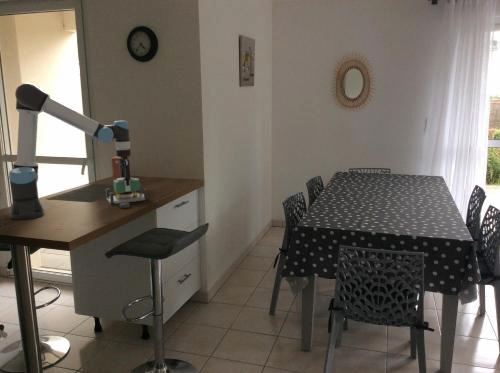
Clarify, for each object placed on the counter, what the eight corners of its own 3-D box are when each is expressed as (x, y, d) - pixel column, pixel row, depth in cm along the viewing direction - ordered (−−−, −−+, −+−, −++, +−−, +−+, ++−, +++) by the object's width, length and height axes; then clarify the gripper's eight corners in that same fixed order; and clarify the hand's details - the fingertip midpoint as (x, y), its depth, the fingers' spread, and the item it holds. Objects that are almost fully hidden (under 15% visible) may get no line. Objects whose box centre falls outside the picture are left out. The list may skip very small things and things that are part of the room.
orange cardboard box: (133, 188, 287) (122, 193, 272) (123, 188, 288) (111, 193, 274) (131, 154, 282) (119, 158, 268) (120, 154, 284) (108, 158, 269)
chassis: (111, 204, 248) (110, 193, 246) (106, 199, 259) (105, 189, 258) (147, 199, 257) (147, 189, 256) (141, 195, 268) (140, 185, 267)
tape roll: (121, 209, 238) (120, 205, 237) (119, 207, 242) (118, 203, 242) (130, 208, 240) (130, 204, 239) (128, 206, 244) (128, 202, 244)
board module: (116, 193, 251) (115, 180, 250) (114, 190, 257) (113, 178, 256) (140, 190, 257) (139, 178, 255) (137, 188, 263) (136, 176, 262)
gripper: (134, 150, 245) (137, 192, 250) (125, 146, 262) (128, 185, 267) (120, 151, 242) (123, 194, 246) (112, 147, 259) (115, 187, 264)
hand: (126, 189), depth 257 cm, fingers closed on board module, 7 cm apart
